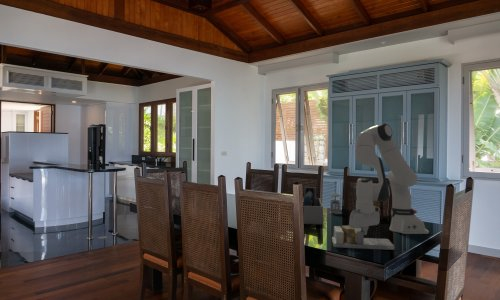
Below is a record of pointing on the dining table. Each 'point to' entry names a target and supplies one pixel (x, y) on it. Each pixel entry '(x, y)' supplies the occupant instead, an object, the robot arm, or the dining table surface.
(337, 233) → the vise base
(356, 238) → the block
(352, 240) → the maple block
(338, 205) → the french press
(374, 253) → the dining table surface
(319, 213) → the tool tote
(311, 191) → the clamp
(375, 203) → the scroll
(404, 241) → the dining table surface
